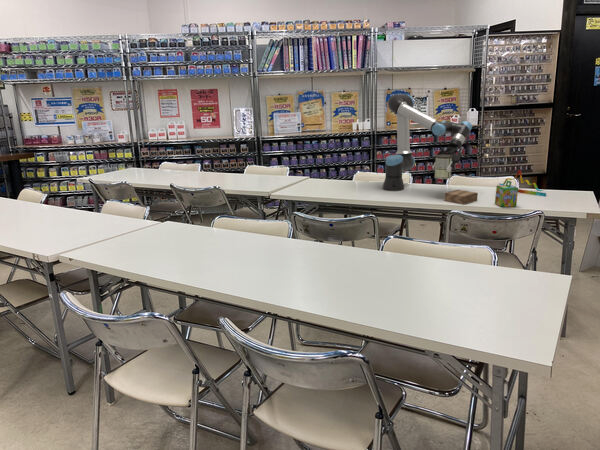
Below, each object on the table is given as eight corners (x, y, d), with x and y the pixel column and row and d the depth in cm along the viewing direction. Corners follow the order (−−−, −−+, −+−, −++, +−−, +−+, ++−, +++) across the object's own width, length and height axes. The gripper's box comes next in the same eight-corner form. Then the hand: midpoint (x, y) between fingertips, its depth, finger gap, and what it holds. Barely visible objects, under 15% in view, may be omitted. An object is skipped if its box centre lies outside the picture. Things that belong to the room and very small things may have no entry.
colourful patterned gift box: (494, 203, 283) (496, 179, 279) (508, 203, 284) (511, 179, 279) (501, 207, 274) (504, 182, 270) (516, 206, 275) (519, 182, 271)
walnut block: (444, 200, 294) (445, 193, 293) (457, 197, 302) (458, 189, 301) (464, 204, 284) (464, 196, 282) (477, 200, 292) (477, 192, 290)
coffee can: (432, 175, 305) (434, 154, 301) (448, 175, 304) (450, 154, 300) (435, 179, 296) (437, 156, 291) (452, 179, 295) (454, 156, 290)
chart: (546, 195, 299) (548, 172, 295) (543, 196, 297) (546, 173, 293) (500, 189, 322) (502, 167, 317) (498, 190, 320) (500, 168, 315)
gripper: (474, 147, 295) (458, 175, 291) (444, 144, 312) (428, 171, 308) (470, 139, 291) (453, 168, 286) (439, 137, 308) (423, 164, 303)
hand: (440, 169), depth 297 cm, fingers closed on coffee can, 10 cm apart
